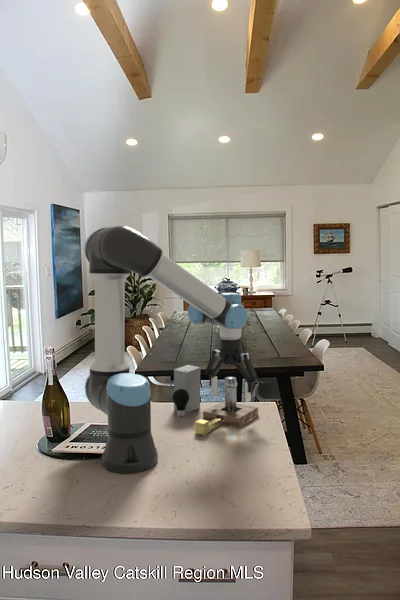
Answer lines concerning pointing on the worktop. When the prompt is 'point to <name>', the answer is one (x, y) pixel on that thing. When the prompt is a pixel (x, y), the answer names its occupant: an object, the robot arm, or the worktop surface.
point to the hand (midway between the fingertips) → (230, 398)
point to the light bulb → (180, 400)
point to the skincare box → (188, 385)
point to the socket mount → (231, 414)
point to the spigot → (230, 394)
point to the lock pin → (206, 426)
